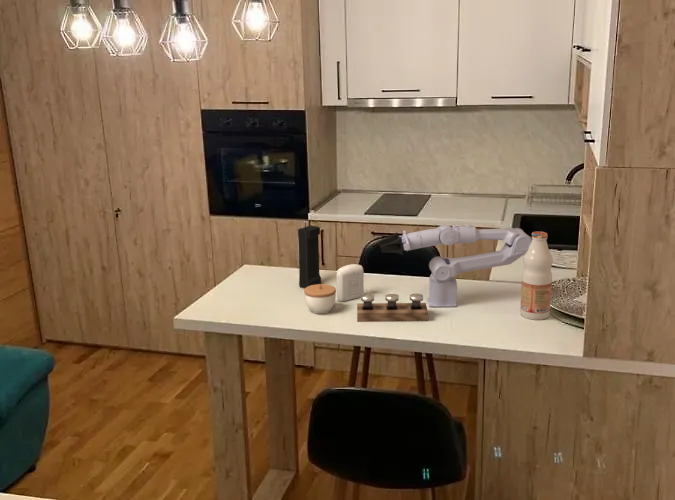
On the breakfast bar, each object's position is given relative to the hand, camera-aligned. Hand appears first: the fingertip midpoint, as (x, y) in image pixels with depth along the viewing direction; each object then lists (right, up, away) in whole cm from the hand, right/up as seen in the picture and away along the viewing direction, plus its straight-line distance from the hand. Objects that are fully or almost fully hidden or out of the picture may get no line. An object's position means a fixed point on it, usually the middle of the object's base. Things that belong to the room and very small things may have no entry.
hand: (380, 246), depth 245 cm
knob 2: (+12, -20, -6) cm, 24 cm away
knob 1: (-4, -21, -5) cm, 22 cm away
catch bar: (+4, -23, -4) cm, 24 cm away
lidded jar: (-20, -22, +2) cm, 30 cm away
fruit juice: (+51, -23, -6) cm, 56 cm away
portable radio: (-25, -15, +27) cm, 39 cm away
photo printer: (-10, -18, +13) cm, 25 cm away
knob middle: (+4, -20, -5) cm, 21 cm away
